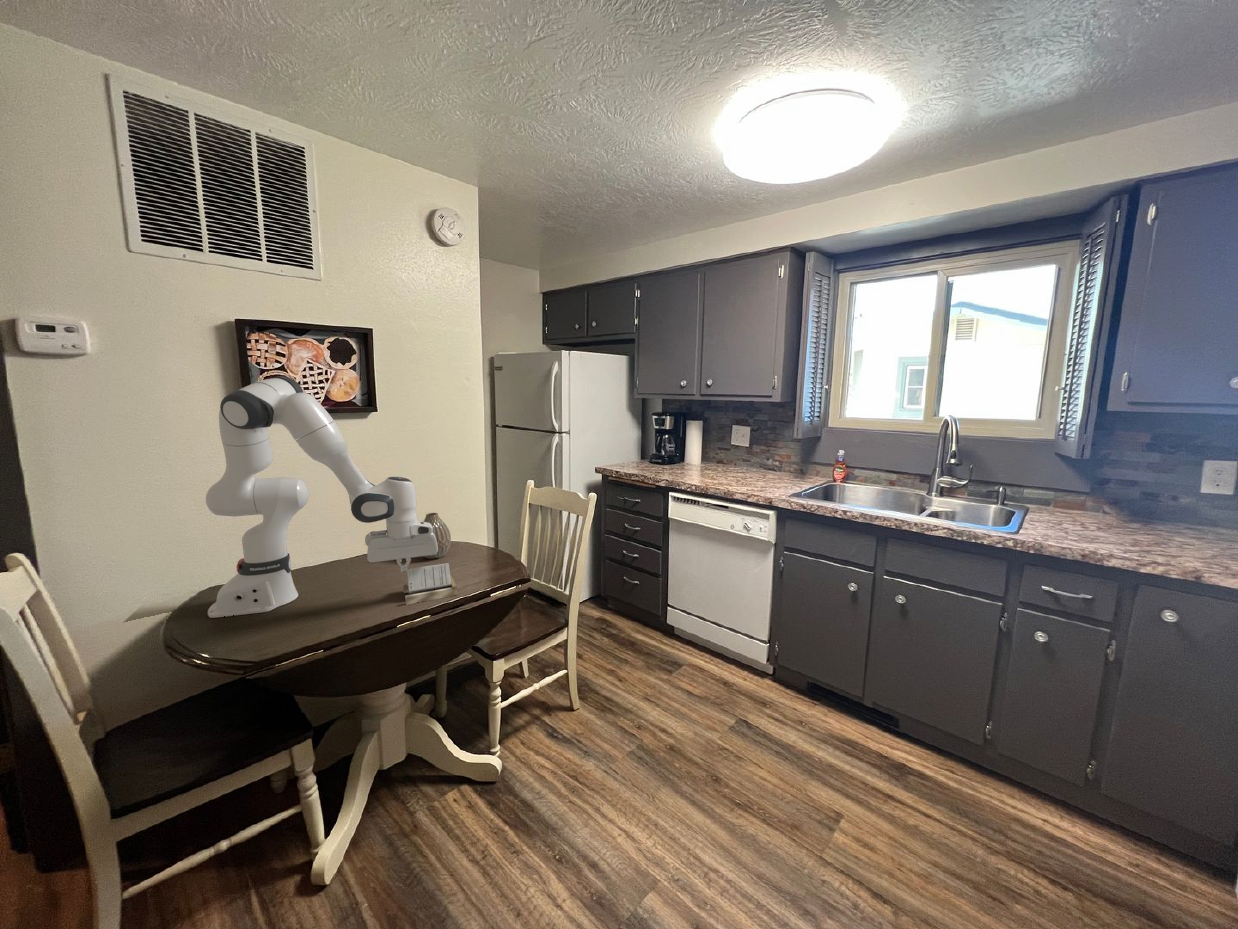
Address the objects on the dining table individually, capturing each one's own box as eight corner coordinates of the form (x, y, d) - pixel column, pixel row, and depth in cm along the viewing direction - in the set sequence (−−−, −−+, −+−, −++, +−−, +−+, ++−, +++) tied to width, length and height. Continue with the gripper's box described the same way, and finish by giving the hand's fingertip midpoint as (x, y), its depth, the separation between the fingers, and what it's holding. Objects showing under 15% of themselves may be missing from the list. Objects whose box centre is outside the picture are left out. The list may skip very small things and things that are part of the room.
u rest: (406, 604, 150) (405, 595, 150) (403, 591, 160) (402, 583, 160) (457, 595, 157) (456, 586, 156) (451, 583, 167) (451, 575, 166)
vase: (456, 551, 202) (453, 509, 200) (445, 561, 189) (442, 517, 187) (424, 551, 202) (421, 510, 199) (411, 562, 189) (408, 518, 186)
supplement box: (406, 571, 160) (447, 565, 166) (408, 594, 158) (449, 587, 164) (407, 568, 154) (449, 562, 160) (408, 592, 152) (451, 585, 158)
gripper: (364, 534, 144) (367, 579, 146) (437, 527, 153) (439, 569, 155) (364, 529, 150) (367, 573, 152) (435, 523, 159) (437, 564, 161)
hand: (404, 571), depth 153 cm, fingers closed
